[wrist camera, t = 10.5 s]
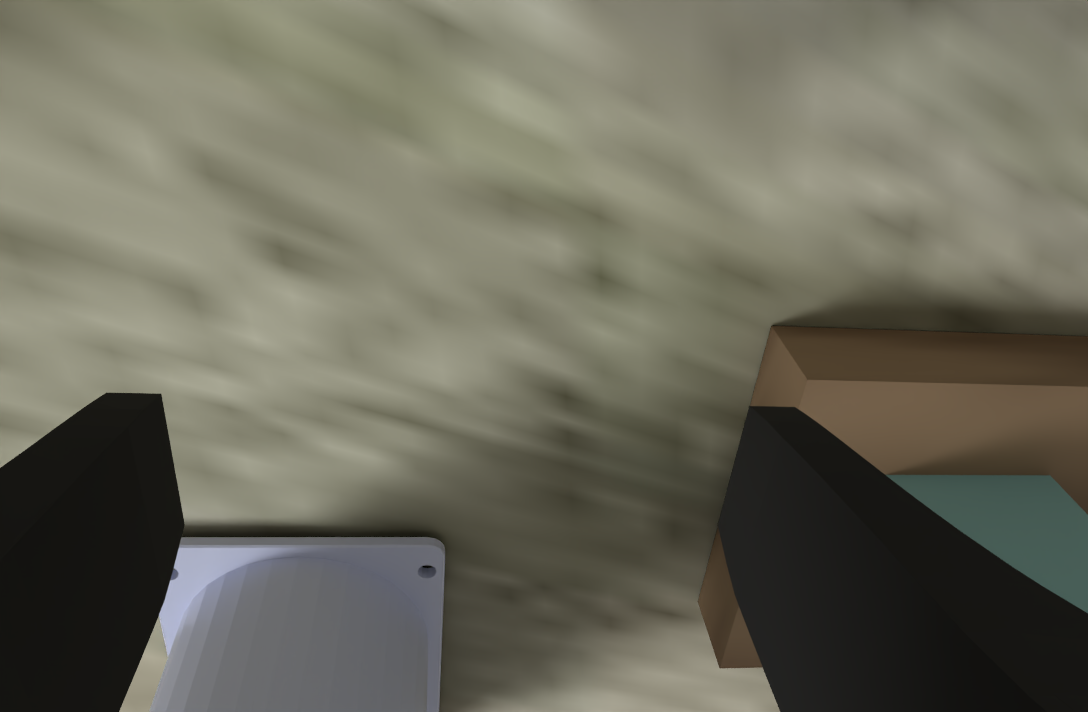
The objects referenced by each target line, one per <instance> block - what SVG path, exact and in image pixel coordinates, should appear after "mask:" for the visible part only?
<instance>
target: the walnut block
mask: <svg viewBox="0 0 1088 712" xmlns="http://www.w3.org/2000/svg"><path fill="white" fill-rule="evenodd" d="M750 406H776V407H796V408H797V409H799V410H800V411H802V412H803V413H805V414H806V415H808V416H809V417H811V418H812V419H813V420H815V421H816V422H817V423H819V424H820V425H821V426H823V427H824V428H826V429H827V430H828V431H829V432H831V433H832V434H833V435H835V436H836V437H837V438H839V439H840V440H841V441H842V442H844V443H845V444H846V445H848V446H849V447H850V448H851V449H853V450H854V451H855V452H857V453H858V454H859V455H860V456H862V457H863V458H864V459H866V460H867V461H868V462H869V463H871V464H872V465H873V466H875V467H876V468H877V469H878V470H880V471H881V472H882V473H884V474H885V475H1050V476H1051V477H1052V478H1053V479H1054V480H1055V481H1056V482H1057V483H1058V484H1059V485H1060V486H1061V487H1062V488H1063V489H1064V490H1065V491H1066V493H1067V494H1068V495H1069V496H1070V497H1071V498H1072V499H1073V500H1074V501H1075V502H1076V503H1077V504H1078V505H1079V506H1080V507H1081V508H1082V509H1083V510H1084V511H1085V512H1086V514H1087V515H1088V337H1087V336H1057V335H1028V334H998V333H968V332H939V331H909V330H879V329H850V328H820V327H790V326H771V329H770V333H769V337H768V340H767V344H766V348H765V352H764V355H763V359H762V363H761V367H760V370H759V374H758V378H757V382H756V385H755V389H754V393H753V397H752V400H751V404H750ZM698 603H699V606H700V610H701V613H702V616H703V619H704V622H705V625H706V628H707V631H708V634H709V637H710V640H711V643H712V646H713V649H714V652H715V655H716V658H717V662H718V665H719V668H754V667H762V664H761V662H760V659H759V657H758V654H757V652H756V649H755V647H754V644H753V641H752V639H751V636H750V634H749V631H748V629H747V626H746V623H745V621H744V618H743V616H742V613H741V610H740V608H739V605H738V602H737V600H736V597H735V594H734V590H733V587H732V583H731V579H730V575H729V571H728V567H727V564H726V559H725V555H724V551H723V546H722V542H721V538H720V533H719V529H718V528H717V532H716V536H715V539H714V543H713V547H712V551H711V554H710V558H709V562H708V566H707V569H706V573H705V577H704V581H703V584H702V588H701V592H700V596H699V599H698Z"/></svg>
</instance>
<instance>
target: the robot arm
mask: <svg viewBox="0 0 1088 712" xmlns="http://www.w3.org/2000/svg"><path fill="white" fill-rule="evenodd" d="M184 525H185V524H184V519H183V513H182V508H181V502H180V496H179V491H178V485H177V480H176V474H175V469H174V463H173V457H172V452H171V446H170V441H169V435H168V429H167V424H166V418H165V413H164V407H163V402H162V396H161V394H143V393H105V394H104V395H102V396H101V397H99V398H98V399H96V400H95V401H93V402H91V403H90V404H89V405H87V406H86V407H84V408H83V409H81V410H80V411H79V412H77V413H76V414H74V415H73V416H72V417H70V418H69V419H67V420H66V421H65V422H63V423H62V424H60V425H59V426H58V427H56V428H55V429H54V430H52V431H51V432H50V433H48V434H47V435H45V436H44V437H43V438H41V439H40V440H39V441H37V442H36V443H34V444H33V445H32V446H30V447H29V448H28V449H26V450H25V451H23V452H22V453H21V454H19V455H18V456H16V457H15V458H14V459H12V460H11V461H9V462H8V463H7V464H5V465H4V466H2V467H1V468H0V712H119V710H120V708H121V706H122V703H123V701H124V698H125V696H126V694H127V691H128V689H129V686H130V684H131V682H132V679H133V677H134V674H135V672H136V670H137V667H138V665H139V663H140V660H141V658H142V655H143V653H144V650H145V648H146V645H147V643H148V641H149V638H150V636H151V633H152V631H153V628H154V626H155V623H156V621H157V618H158V616H159V618H160V622H161V627H162V632H163V636H164V641H165V645H166V650H167V655H168V659H167V662H166V665H165V668H164V671H163V673H162V676H161V679H160V682H159V685H158V688H157V691H156V693H155V696H154V699H153V702H152V705H151V708H150V711H149V712H439V701H440V676H441V651H442V625H443V600H444V575H445V547H444V545H443V543H442V542H441V541H439V540H437V539H435V538H430V537H182V533H183V529H184ZM718 529H719V533H720V538H721V542H722V546H723V551H724V555H725V559H726V564H727V567H728V571H729V575H730V579H731V583H732V587H733V590H734V594H735V597H736V600H737V602H738V605H739V608H740V610H741V613H742V616H743V618H744V621H745V623H746V626H747V629H748V631H749V634H750V636H751V639H752V641H753V644H754V647H755V649H756V652H757V654H758V657H759V659H760V662H761V664H762V667H763V669H764V672H765V674H766V677H767V679H768V682H769V684H770V687H771V689H772V692H773V694H774V697H775V699H776V702H777V704H778V707H779V709H780V712H1088V613H1087V612H1085V611H1083V610H1082V609H1080V608H1078V607H1077V606H1075V605H1073V604H1072V603H1070V602H1068V601H1067V600H1065V599H1063V598H1062V597H1060V596H1058V595H1057V594H1055V593H1053V592H1052V591H1050V590H1048V589H1047V588H1045V587H1043V586H1042V585H1040V584H1039V583H1037V582H1035V581H1034V580H1032V579H1031V578H1029V577H1028V576H1026V575H1025V574H1023V573H1021V572H1020V571H1018V570H1017V569H1015V568H1014V567H1012V566H1011V565H1009V564H1008V563H1006V562H1005V561H1003V560H1002V559H1000V558H999V557H998V556H996V555H995V554H993V553H992V552H990V551H989V550H987V549H986V548H984V547H983V546H982V545H980V544H979V543H977V542H976V541H974V540H973V539H971V538H970V537H968V536H967V535H966V534H964V533H963V532H961V531H960V530H958V529H957V528H956V527H954V526H953V525H952V524H950V523H949V522H947V521H946V520H945V519H943V518H942V517H941V516H939V515H938V514H936V513H935V512H934V511H932V510H931V509H930V508H928V507H927V506H926V505H924V504H923V503H922V502H920V501H919V500H918V499H916V498H915V497H914V496H912V495H911V494H910V493H908V492H907V491H906V490H904V489H903V488H902V487H900V486H899V485H898V484H897V483H895V482H894V481H893V480H891V479H890V478H889V477H887V476H886V475H885V474H884V473H882V472H881V471H880V470H878V469H877V468H876V467H875V466H873V465H872V464H871V463H869V462H868V461H867V460H866V459H864V458H863V457H862V456H860V455H859V454H858V453H857V452H855V451H854V450H853V449H851V448H850V447H849V446H848V445H846V444H845V443H844V442H842V441H841V440H840V439H839V438H837V437H836V436H835V435H833V434H832V433H831V432H829V431H828V430H827V429H826V428H824V427H823V426H821V425H820V424H819V423H817V422H816V421H815V420H813V419H812V418H811V417H809V416H808V415H806V414H805V413H803V412H802V411H800V410H799V409H797V408H796V407H776V406H749V410H748V413H747V417H746V421H745V425H744V428H743V432H742V436H741V440H740V444H739V447H738V451H737V455H736V459H735V462H734V466H733V470H732V474H731V477H730V481H729V485H728V489H727V492H726V496H725V500H724V504H723V507H722V511H721V515H720V519H719V522H718ZM425 565H430V566H433V567H431V568H423V567H422V566H425ZM173 569H175V570H173Z"/></svg>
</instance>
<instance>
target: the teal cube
mask: <svg viewBox="0 0 1088 712" xmlns="http://www.w3.org/2000/svg"><path fill="white" fill-rule="evenodd" d="M886 476H887V477H889V478H890V479H891V480H893V481H894V482H895V483H897V484H898V485H899V486H900V487H902V488H903V489H904V490H906V491H907V492H908V493H910V494H911V495H912V496H914V497H915V498H916V499H918V500H919V501H920V502H922V503H923V504H924V505H926V506H927V507H928V508H930V509H931V510H932V511H934V512H935V513H936V514H938V515H939V516H941V517H942V518H943V519H945V520H946V521H947V522H949V523H950V524H952V525H953V526H954V527H956V528H957V529H958V530H960V531H961V532H963V533H964V534H966V535H967V536H968V537H970V538H971V539H973V540H974V541H976V542H977V543H979V544H980V545H982V546H983V547H984V548H986V549H987V550H989V551H990V552H992V553H993V554H995V555H996V556H998V557H999V558H1000V559H1002V560H1003V561H1005V562H1006V563H1008V564H1009V565H1011V566H1012V567H1014V568H1015V569H1017V570H1018V571H1020V572H1021V573H1023V574H1025V575H1026V576H1028V577H1029V578H1031V579H1032V580H1034V581H1035V582H1037V583H1039V584H1040V585H1042V586H1043V587H1045V588H1047V589H1048V590H1050V591H1052V592H1053V593H1055V594H1057V595H1058V596H1060V597H1062V598H1063V599H1065V600H1067V601H1068V602H1070V603H1072V604H1073V605H1075V606H1077V607H1078V608H1080V609H1082V610H1083V611H1085V612H1087V613H1088V515H1087V514H1086V512H1085V511H1084V510H1083V509H1082V508H1081V507H1080V506H1079V505H1078V504H1077V503H1076V502H1075V501H1074V500H1073V499H1072V498H1071V497H1070V496H1069V495H1068V494H1067V493H1066V491H1065V490H1064V489H1063V488H1062V487H1061V486H1060V485H1059V484H1058V483H1057V482H1056V481H1055V480H1054V479H1053V478H1052V477H1051V476H1050V475H886Z"/></svg>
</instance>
